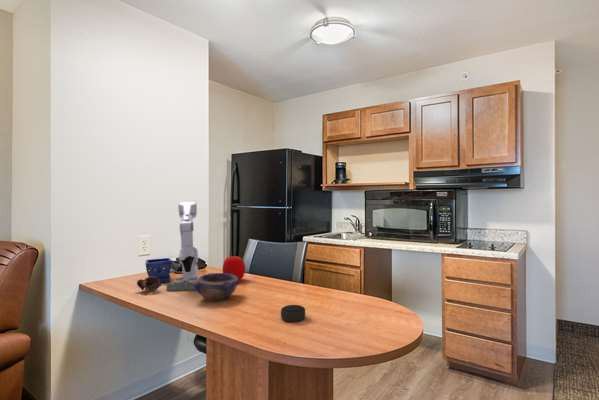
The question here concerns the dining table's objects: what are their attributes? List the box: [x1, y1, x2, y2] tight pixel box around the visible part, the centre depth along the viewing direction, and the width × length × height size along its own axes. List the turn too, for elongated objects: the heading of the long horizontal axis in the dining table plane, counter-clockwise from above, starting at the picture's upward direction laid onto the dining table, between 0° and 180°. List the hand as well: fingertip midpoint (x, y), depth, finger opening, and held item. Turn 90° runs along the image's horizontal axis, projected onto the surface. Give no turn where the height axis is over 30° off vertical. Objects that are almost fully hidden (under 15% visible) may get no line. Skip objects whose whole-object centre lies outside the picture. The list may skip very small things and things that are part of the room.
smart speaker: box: [280, 304, 306, 323], centre depth 124 cm, size 9×9×4 cm
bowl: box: [194, 272, 241, 302], centre depth 153 cm, size 18×18×10 cm
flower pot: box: [145, 257, 172, 284], centre depth 191 cm, size 13×13×12 cm
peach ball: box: [174, 275, 184, 284], centre depth 173 cm, size 4×4×4 cm
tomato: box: [222, 254, 246, 281], centre depth 186 cm, size 13×11×14 cm
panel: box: [166, 280, 196, 292], centre depth 172 cm, size 8×24×3 cm, turn 87°
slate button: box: [189, 275, 199, 284], centre depth 172 cm, size 4×4×4 cm
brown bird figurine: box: [136, 276, 162, 295], centre depth 168 cm, size 12×10×8 cm
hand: (187, 271), depth 173 cm, fingers closed
